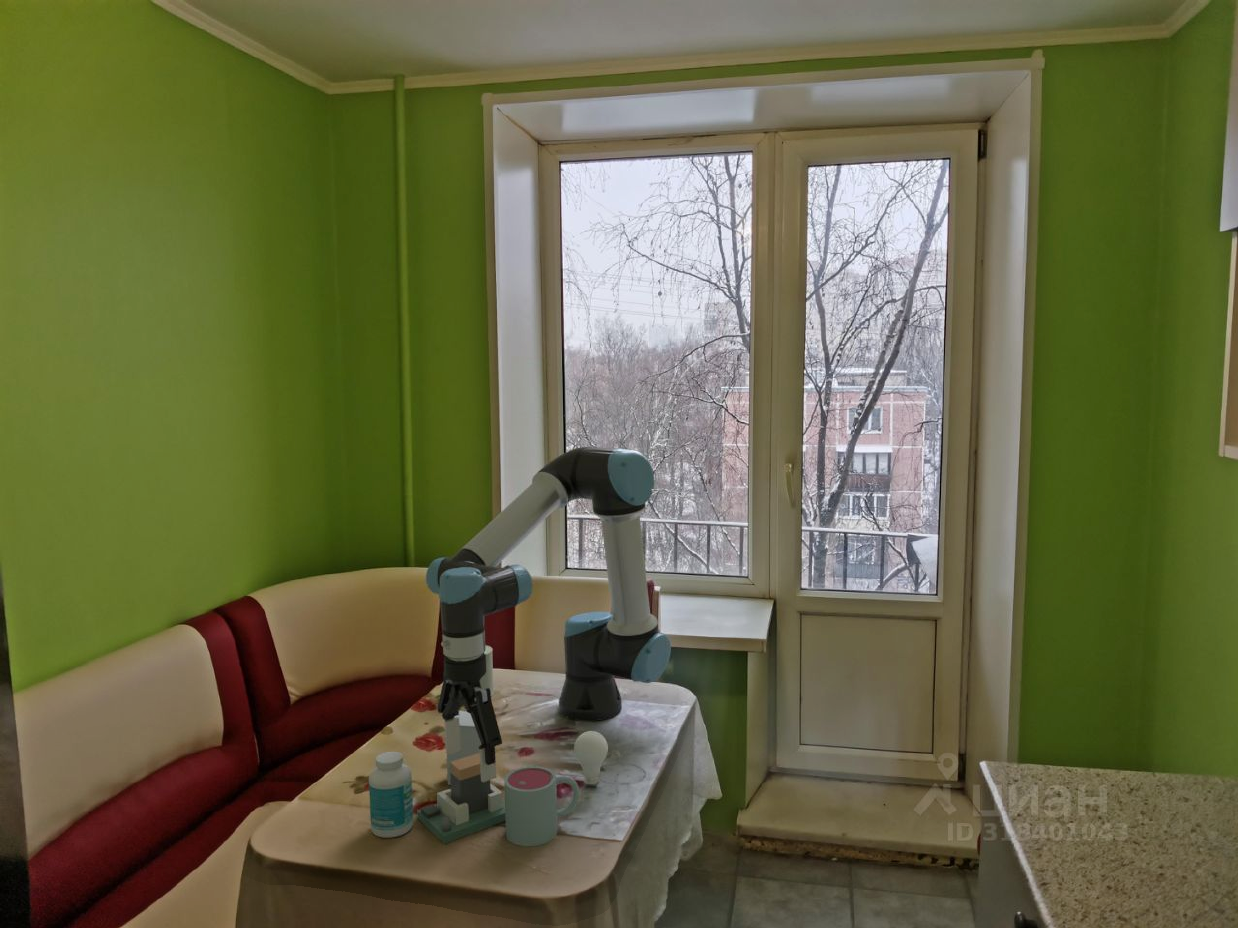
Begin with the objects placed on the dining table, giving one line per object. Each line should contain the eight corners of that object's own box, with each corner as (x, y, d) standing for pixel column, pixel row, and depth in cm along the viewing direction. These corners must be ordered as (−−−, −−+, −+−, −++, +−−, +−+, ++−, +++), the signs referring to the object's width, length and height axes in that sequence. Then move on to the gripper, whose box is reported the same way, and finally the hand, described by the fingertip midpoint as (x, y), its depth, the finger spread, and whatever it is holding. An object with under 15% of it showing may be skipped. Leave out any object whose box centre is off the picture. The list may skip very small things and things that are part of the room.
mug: (513, 850, 146) (511, 795, 145) (500, 824, 155) (498, 771, 154) (588, 833, 151) (587, 779, 150) (571, 808, 160) (570, 757, 159)
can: (450, 694, 217) (448, 648, 215) (480, 684, 223) (479, 640, 221) (470, 704, 210) (468, 657, 208) (501, 694, 216) (499, 648, 215)
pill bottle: (414, 835, 151) (411, 763, 150) (371, 843, 149) (367, 769, 148) (412, 814, 158) (409, 745, 157) (371, 821, 156) (367, 751, 155)
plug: (481, 798, 161) (479, 752, 160) (491, 806, 158) (489, 760, 157) (451, 808, 158) (449, 761, 157) (461, 817, 154) (459, 770, 153)
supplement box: (482, 788, 168) (479, 727, 166) (446, 785, 169) (444, 724, 168) (494, 771, 175) (492, 711, 174) (460, 768, 177) (458, 709, 175)
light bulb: (613, 780, 170) (612, 727, 169) (601, 796, 164) (600, 741, 163) (582, 775, 173) (581, 723, 171) (569, 791, 166) (568, 737, 165)
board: (484, 793, 166) (484, 771, 165) (513, 817, 157) (513, 793, 157) (417, 817, 157) (416, 794, 157) (444, 843, 149) (443, 819, 148)
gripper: (415, 641, 162) (422, 747, 165) (479, 679, 142) (485, 798, 145) (451, 632, 166) (457, 735, 169) (518, 668, 147) (523, 784, 149)
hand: (470, 765), depth 157 cm, fingers open, 13 cm apart
